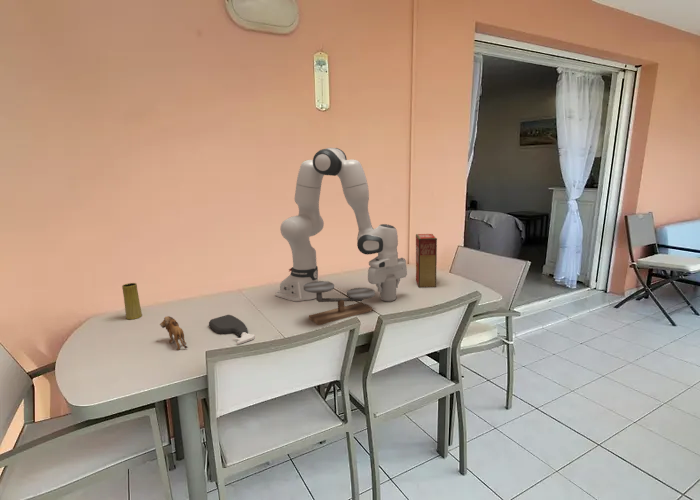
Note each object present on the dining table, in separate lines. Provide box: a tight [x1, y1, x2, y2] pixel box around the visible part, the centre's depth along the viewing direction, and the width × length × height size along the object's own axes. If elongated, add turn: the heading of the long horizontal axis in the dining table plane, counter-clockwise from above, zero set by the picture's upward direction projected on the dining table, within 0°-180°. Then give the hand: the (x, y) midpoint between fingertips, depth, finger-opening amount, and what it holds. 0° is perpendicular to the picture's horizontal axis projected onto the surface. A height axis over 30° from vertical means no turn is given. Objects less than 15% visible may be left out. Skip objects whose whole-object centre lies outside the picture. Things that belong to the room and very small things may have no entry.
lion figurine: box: [159, 315, 188, 351], centre depth 137 cm, size 15×5×9 cm, turn 50°
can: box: [379, 275, 397, 302], centre depth 177 cm, size 8×8×12 cm
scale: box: [303, 280, 376, 326], centre depth 160 cm, size 12×32×15 cm, turn 123°
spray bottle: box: [208, 314, 256, 346], centre depth 147 cm, size 3×11×25 cm
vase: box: [121, 282, 143, 321], centre depth 163 cm, size 6×6×14 cm
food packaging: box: [415, 233, 438, 288], centre depth 197 cm, size 13×9×25 cm
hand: (388, 289), depth 177 cm, fingers closed on can, 7 cm apart
